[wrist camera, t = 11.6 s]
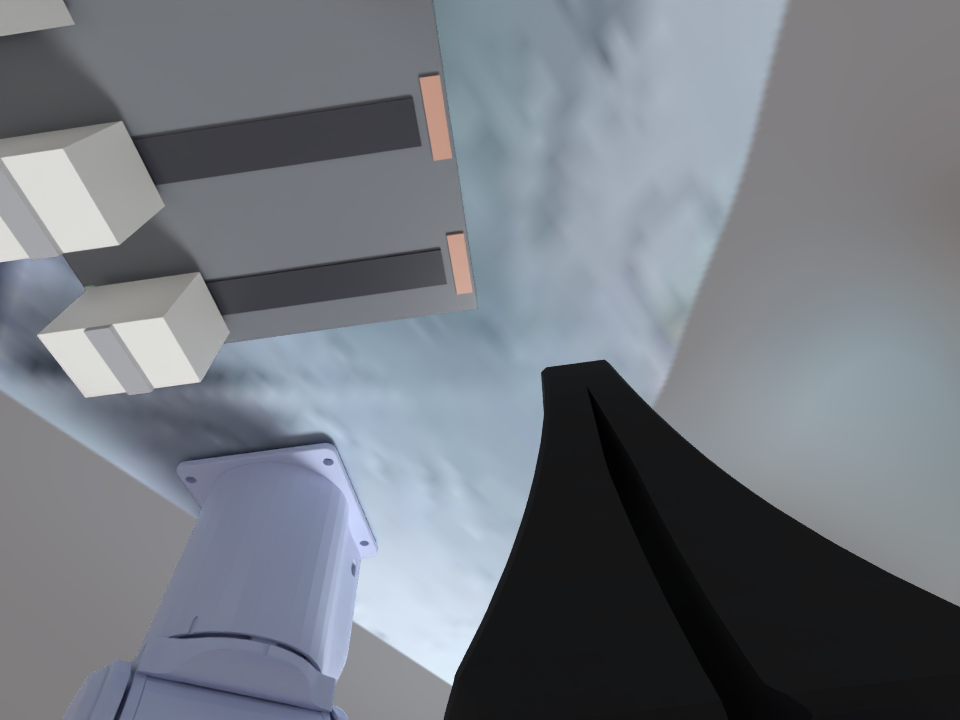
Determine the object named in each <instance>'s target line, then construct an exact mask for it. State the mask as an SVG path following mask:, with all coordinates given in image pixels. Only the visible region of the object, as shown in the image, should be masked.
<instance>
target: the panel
mask: <svg viewBox="0 0 960 720" xmlns="http://www.w3.org/2000/svg"><path fill="white" fill-rule="evenodd" d="M63 1H64V3H65V5H66V7H67V9H68V11H69V13H70V15H71V17H72V19H73V21H74V23H75V25H69V26H63V27H56V28H50V29H43V30H37V31H31V32H24V33H18V34H12V35H5V36H0V139H4V138H11V137H17V136H24V135H31V134H37V133H44V132H51V131H57V130H64V129H70V128H77V127H84V126H90V125H97V124H103V123H110V122H117V121H122V122H123V124H124V126H125V128H126V130H127V132H128V134H129V135H130V137H131V139H132V141H133V143H134V145H135V147H136V149H137V151H138V153H139V155H140V157H141V159H142V161H143V163H144V165H145V167H146V169H147V171H148V173H149V175H150V177H151V179H152V181H153V183H154V185H155V187H156V189H157V191H158V193H159V195H160V197H161V199H162V201H163V203H164V205H165V207H163V208H162V209H161V210H160V211H159V212H158V213H156V214H155V215H154V216H153V217H152V218H151V219H149V220H148V221H147V222H146V223H145V224H143V225H142V226H141V227H140V228H139V229H138V230H136V231H135V232H134V233H133V234H132V235H131V236H129V237H128V238H127V239H126V240H125V241H124V242H122V243H121V244H120V245H117V246H110V247H103V248H96V249H89V250H82V251H75V252H68V253H63V254H62V255H63V256H64V258H65V259H66V261H67V262H68V264H69V265H70V267H71V268H72V270H73V271H74V273H75V274H76V276H77V277H78V279H79V280H80V282H81V283H82V285H83V288H84V289H85V291H86V290H87V289H88V288H89V287H97V286H104V285H111V284H118V283H125V282H132V281H139V280H146V279H153V278H160V277H167V276H174V275H181V274H188V273H195V272H200V274H201V276H202V278H203V280H204V282H205V284H206V286H207V288H208V290H209V292H210V294H211V296H212V298H213V300H214V302H215V304H216V306H217V308H218V310H219V312H220V314H221V316H222V318H223V320H224V322H225V324H226V326H227V328H228V330H229V332H230V333H229V335H228V337H227V338H226V340H225V342H224V343H223V344H225V343H232V342H239V341H247V340H254V339H261V338H268V337H276V336H283V335H290V334H297V333H305V332H312V331H319V330H326V329H333V328H341V327H348V326H355V325H362V324H370V323H377V322H384V321H391V320H399V319H406V318H413V317H420V316H428V315H435V314H442V313H449V312H456V311H464V310H471V309H478V307H477V298H476V290H475V283H474V276H473V270H472V263H471V256H470V249H469V242H468V236H467V229H466V222H465V215H464V209H463V202H462V195H461V188H460V182H459V175H458V168H457V161H456V155H455V148H454V141H453V134H452V128H451V121H450V114H449V107H448V100H447V94H446V87H445V80H444V73H443V67H442V60H441V53H440V46H439V40H438V33H437V26H436V19H435V13H434V6H433V0H63Z"/></svg>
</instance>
